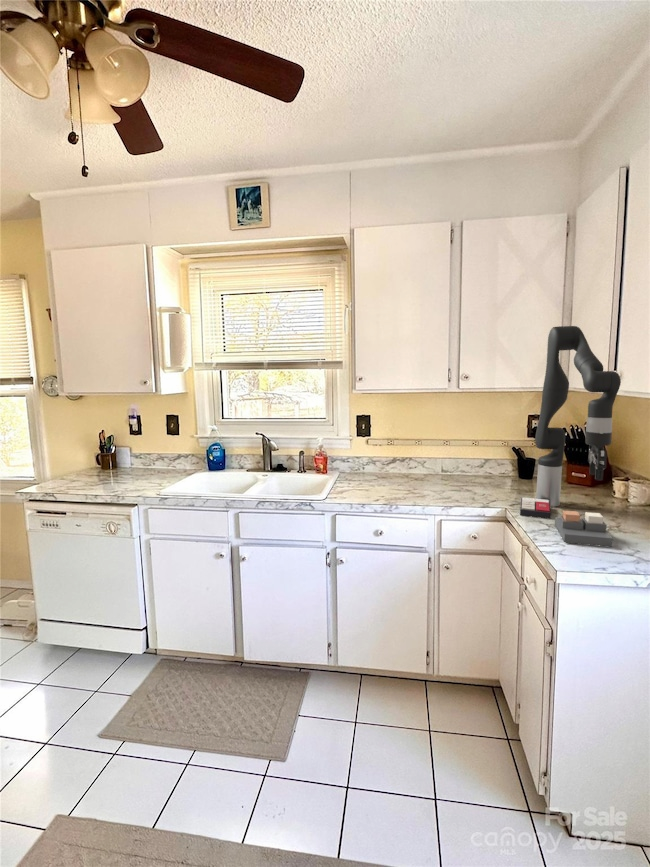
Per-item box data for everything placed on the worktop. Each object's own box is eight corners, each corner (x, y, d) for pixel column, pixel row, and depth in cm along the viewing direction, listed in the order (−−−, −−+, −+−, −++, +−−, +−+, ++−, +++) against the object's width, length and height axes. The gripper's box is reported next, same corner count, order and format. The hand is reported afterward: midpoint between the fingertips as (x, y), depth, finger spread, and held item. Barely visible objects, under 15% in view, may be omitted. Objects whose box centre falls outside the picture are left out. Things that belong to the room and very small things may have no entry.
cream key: (584, 519, 157) (585, 512, 156) (599, 520, 155) (599, 513, 155) (588, 523, 153) (588, 516, 152) (602, 524, 151) (603, 517, 151)
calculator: (520, 507, 177) (521, 495, 191) (519, 517, 178) (520, 505, 191) (551, 510, 173) (549, 498, 186) (550, 521, 173) (549, 508, 187)
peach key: (562, 517, 159) (563, 510, 159) (576, 518, 158) (577, 511, 157) (565, 521, 155) (565, 514, 154) (579, 522, 153) (580, 515, 153)
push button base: (554, 524, 166) (555, 510, 166) (596, 528, 162) (597, 513, 161) (564, 542, 149) (565, 526, 149) (612, 547, 145) (613, 531, 144)
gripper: (581, 428, 158) (579, 472, 160) (590, 432, 145) (588, 481, 147) (606, 428, 156) (603, 474, 158) (617, 433, 143) (614, 482, 145)
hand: (595, 477), depth 152 cm, fingers open, 8 cm apart
